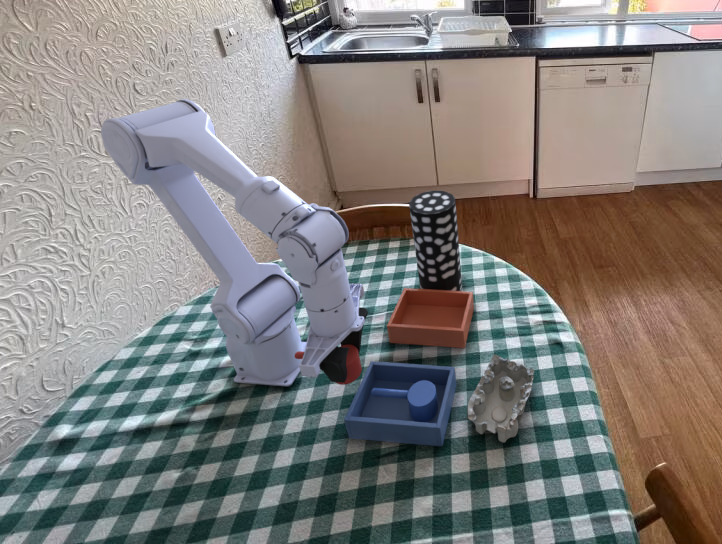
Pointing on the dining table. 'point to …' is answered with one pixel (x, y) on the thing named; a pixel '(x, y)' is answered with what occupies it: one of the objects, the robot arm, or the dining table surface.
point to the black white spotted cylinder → (436, 240)
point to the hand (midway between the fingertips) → (345, 366)
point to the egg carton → (500, 397)
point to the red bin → (431, 318)
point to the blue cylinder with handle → (415, 399)
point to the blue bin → (400, 404)
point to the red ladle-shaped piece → (351, 364)
